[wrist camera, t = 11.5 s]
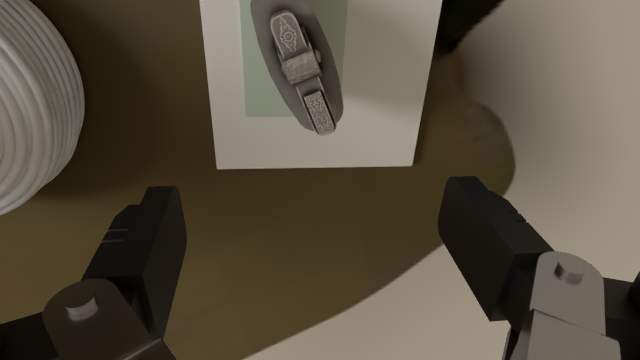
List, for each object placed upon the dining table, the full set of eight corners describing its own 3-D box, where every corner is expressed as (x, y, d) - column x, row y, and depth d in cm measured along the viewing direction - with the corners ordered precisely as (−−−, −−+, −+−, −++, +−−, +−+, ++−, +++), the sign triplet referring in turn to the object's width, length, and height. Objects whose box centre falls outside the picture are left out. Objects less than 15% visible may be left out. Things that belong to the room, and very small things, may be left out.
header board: (218, 163, 33) (206, 218, 26) (181, -201, 21) (144, -260, 15) (408, 160, 34) (440, 210, 28) (467, -176, 23) (543, -219, 17)
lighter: (242, -19, 25) (229, 3, 16) (293, -41, 25) (305, -30, 16) (293, 96, 29) (303, 161, 21) (336, 78, 29) (364, 137, 20)
